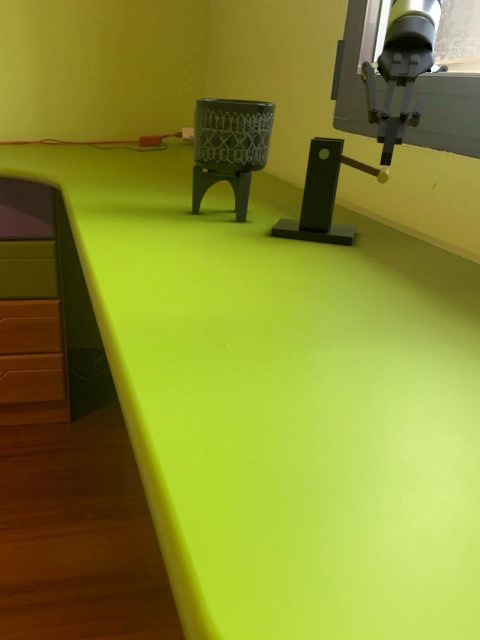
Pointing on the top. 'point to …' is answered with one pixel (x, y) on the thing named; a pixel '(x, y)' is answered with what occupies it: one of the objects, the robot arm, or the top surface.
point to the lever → (366, 168)
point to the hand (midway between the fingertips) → (386, 159)
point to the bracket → (319, 198)
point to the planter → (230, 146)
